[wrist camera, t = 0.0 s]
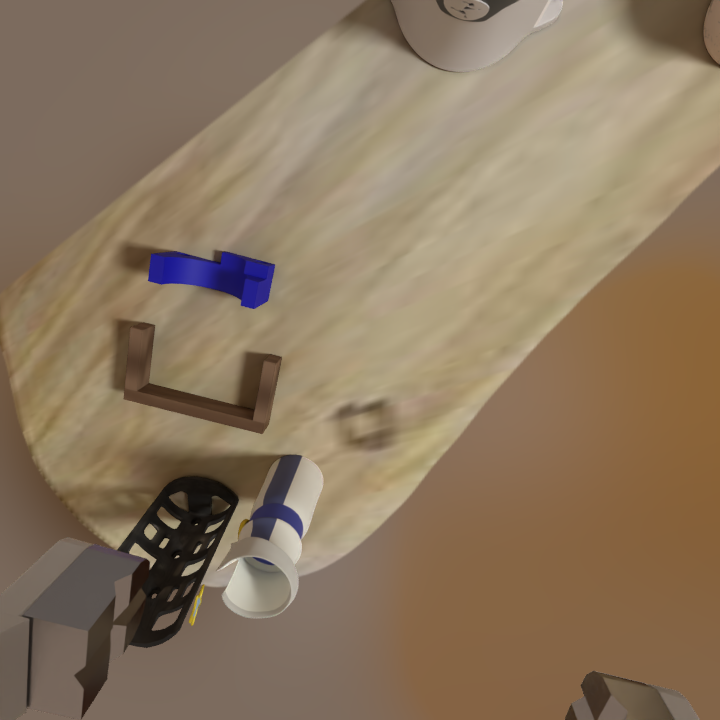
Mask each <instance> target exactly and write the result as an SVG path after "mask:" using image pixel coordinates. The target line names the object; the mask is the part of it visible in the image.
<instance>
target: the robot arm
mask: <svg viewBox="0 0 720 720" xmlns="http://www.w3.org/2000/svg"><path fill="white" fill-rule="evenodd" d="M391 2H392V4H393V6H394V9H395V12H396V16H397V19H398V23H399V25H400V28H401V30H402V33H403V35H404V36H405V38H406V40H407V42H408V43H409V44H410V46H411V47H412V48H413V50H414V51H415V52H416V53H417V54H418V55H419V56H420V57H422V58H423V59H424V60H426V61H427V62H428V63H430V64H432V65H434V66H436V67H438V68H441V69H444V70H448V71H454V72H469V71H475V70H479V69H482V68H485V67H487V66H490V65H492V64H494V63H495V62H497V61H499V60H500V59H502V58H503V57H505V56H506V55H507V54H508V53H509V52H511V51H512V50H513V49H514V48H515V47H516V46H517V45H518V44H519V43H520V42H521V41H522V40H523V39H524V38H525V37H526V36H528V35H529V34H531V33H534V32H536V31H539V30H541V29H543V28H545V27H547V26H549V25H551V24H552V23H553V22H554V21H555V20H556V19H557V18H558V16H559V14H560V12H561V9H562V4H563V0H391ZM149 568H150V561H149V560H147V559H146V558H142V557H139V556H135V555H132V554H128V553H124V552H121V551H117V550H114V549H110V548H107V547H103V546H100V545H96V544H90V543H86V542H83V541H79V540H76V539H72V538H69V537H67V538H65V539H63V540H60V541H58V542H57V543H56V544H55V545H53V546H52V547H51V548H50V549H49V550H48V551H47V552H46V553H45V554H44V555H43V556H42V557H40V558H39V559H38V560H37V561H36V562H35V563H34V564H33V565H32V566H31V567H30V568H29V569H27V570H26V571H25V572H24V573H23V574H22V575H21V576H20V577H19V578H18V579H17V580H16V581H15V582H14V583H12V584H11V585H10V586H9V587H8V588H7V589H6V590H5V591H4V592H3V593H2V594H0V720H16V719H17V718H18V717H20V716H22V715H23V714H24V713H26V708H27V709H32V710H37V711H41V712H46V713H50V714H55V715H60V716H64V717H69V718H73V719H78V720H81V719H82V718H83V716H84V714H85V713H86V711H87V710H88V708H89V707H90V705H91V704H92V702H93V701H94V699H95V698H96V696H97V694H98V693H99V691H100V690H101V688H102V687H103V685H104V683H105V682H106V680H107V676H108V668H109V663H110V662H111V661H113V660H114V659H116V658H118V657H120V656H121V655H123V654H124V652H125V650H126V649H127V647H128V646H129V644H130V642H131V641H132V639H133V637H134V635H135V633H136V630H137V628H138V626H139V624H140V622H141V618H142V615H143V611H144V608H145V602H146V595H145V593H144V592H143V590H142V588H141V587H142V586H143V584H144V583H145V581H146V580H147V578H148V577H149ZM581 688H582V691H583V694H584V697H583V698H581V699H579V700H577V701H575V702H573V703H572V704H571V706H570V708H569V710H568V713H567V715H566V717H565V720H700V719H699V718H698V716H697V714H696V713H695V711H694V710H693V708H692V706H691V705H690V703H689V702H688V700H687V699H686V698H685V697H684V696H683V695H681V693H679V692H678V691H675V690H671V689H666V688H663V687H659V686H654V685H649V684H645V683H642V682H638V681H633V680H629V679H625V678H621V677H616V676H612V675H609V674H604V673H600V672H596V671H592V672H590V673H589V674H587V675H586V676H585V678H584V680H583V682H582V684H581Z"/></svg>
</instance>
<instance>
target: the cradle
mask: <svg viewBox="0 0 720 720" xmlns="http://www.w3.org/2000/svg"><path fill="white" fill-rule="evenodd" d="M154 331H155V325H152V324H148V323H144V322H143V323H141V324H138V325H135V326H133V327H130V337H129V348H128V358H127V369H126V380H125V390H124V399H125V400H129V401H133V402H137V403H141V404H145V405H149V406H153V407H157V408H161V409H165V410H169V411H173V412H177V413H181V414H185V415H189V416H193V417H197V418H201V419H205V420H209V421H213V422H217V423H221V424H225V425H229V426H232V427H236V428H240V429H244V430H248V431H252V432H256V433H260V434H263V432H264V431H265V429H266V428H267V426H268V425H269V420H270V415H271V410H272V405H273V400H274V395H275V390H276V385H277V380H278V375H279V370H280V365H281V360H282V357H279V356H275V355H271V354H270V355H269V356H268V357H267V358H266V359H265V360H264V363H263V369H262V374H261V379H260V385H259V390H258V396H257V401H256V406H255V410H253V409H249V408H245V407H241V406H237V405H233V404H229V403H225V402H221V401H217V400H213V399H209V398H205V397H201V396H197V395H193V394H189V393H185V392H181V391H177V390H173V389H169V388H165V387H161V386H157V385H153V384H149V376H150V367H151V358H152V349H153V340H154Z"/></svg>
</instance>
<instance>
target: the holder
mask: <svg viewBox="0 0 720 720" xmlns="http://www.w3.org/2000/svg"><path fill="white" fill-rule="evenodd" d="M179 491H184V492H186V493H187V495H188V505H189V511H188V512H187V511H184V510H183V509H181V508H179V507H178V506H176V505H175V504H174V503H173V502H172V501H171V500H170V498H169V496H170V495H172V494H174V493H176V492H179ZM212 496H218V497H220V498H222V499H223V500H225V501H226V502H227V503H229V504H230V507H229V508H228V509H227V510H225V511H223V512H221V513H219V514H216V515H211V507H212ZM238 501H239V499H238V497H237V496H236V494H235V493H234V492H232V491H231V490H229V489H228V488H226V487H225V486H223V485H222V484H220V483H218V482H215V481H212V480H210V479H206V478H200V477H182V478H179V479H176V480H174V481H172V482H171V483H169V484H168V485H167V486H166V487H165V488H164V489H163V490H162V491H161V493H160V494H159V495H158V497H157V498H156V500H155V501H154V502H153V503H152V505H151V506H150V507H149V509H148V510H147V511H146V513H145V514H144V515H143V517H142V518H141V519H140V521H139V522H138V523H137V525H136V526H135V527H134V529H133V530H132V531H131V533H130V534H129V535H128V537H127V538H126V539H125V541H124V542H123V543H122V545H121V546H120V547H119V548H118V550H117V551H121V552H124V553H128V554H129V551H130V549H131V547H132V546H133V545H134V543H137V544H139V546H140V547H141V548H142V549H143V550H145V551H146V552H147V553H148V554H150V555H151V556H152V557H154V558H155V559H157V560H156V562H155V563H154V565H153V567H152V568H151V570H149V577H148V578H147V580H146V581H145V583H144V584H143V586H142V587H141V588H142V590H143V592H144V593H145V595H146V602H145V608H144V611H143V615H142V618H141V622H140V624H139V626H138V628H137V630H136V633H135V635H134V637H133V639H132V641H131V642H130V644H129V645H133V646H137V647H146V648H148V647H152V646H156V645H159V644H162V643H164V642H166V641H167V640H169V639H170V638H172V637H173V636H174V635H176V633H177V632H178V631H179V630H180V628H181V626H182V624H183V621H184V619H185V617H186V615H187V612H188V610H189V608H190V606H191V604H192V601H193V599H194V597H195V595H196V593H197V591H198V588H199V586H200V584H201V582H202V580H203V578H204V575H205V573H206V571H207V569H208V567H209V564H210V562H211V560H212V558H213V556H214V553H215V551H216V549H217V547H218V545H219V542H220V540H221V538H222V536H223V534H224V532H225V530H226V527H227V525H228V523H229V521H230V519H231V517H232V515H233V513H234V510H235V508H236V506H237V504H238ZM161 506H162V507H163V508H165V509H166V510H167V511H168V512H169V513H170V514H171V515H172V516H174V517H175V518H176V519H178V520H180V521H181V523H180V525H179V526H178V528H177V529H173V528H171V527H169V526H167V525H166V524H165V523H164V522H163V521H161V520H160V518H159V517H158V516H157V511H158V510H159V509H160V507H161ZM222 520H224V521H223V523H222V524H221V525H220V526H219V527H218V528H217V529H216V530H214V531H212V532H209V533H205V532H206V530H207V528H208V527H209V526H211V525H214V524H217V523H219V522H221V521H222ZM149 523H150V524H152V525H153V526H154V528H155V529H156V530H157V533H156V534H155V536H154V537H153V539H152V540H149V539H148V538H147V537H146V536H145V534H144V530H145V528H146V527H147V525H148V524H149ZM195 524H198V525H195ZM204 533H205V534H204ZM215 537H216V538H215ZM164 538H168V539H170V540H169V542H168V543H167V545H166V546H165V548H163V549H162V548H160V547H159V545H160V544H161V542H162V541H163V539H164ZM214 538H215V540H214V542H213V543H212V545H211V546H210V547H209V548H207V547H208V545H209V543H210V542H211V541H212V540H213V539H214ZM200 544H202V545H201V547H200V549H199V551H198V552H197V553H195V554H193V553H194V551H195V550H196V548H197V546H199V545H200ZM177 555H179V556H180V557H178V558H175V557H176V556H177ZM205 558H206V559H205ZM204 559H205V561H204V563H203V565H202V566H201V568H200V569H199V570H197V571H196V572H194V573H192V574H190V575H188V576H181V575H182V573H183V572H184V570H185V568H186V567H187V566H188V565H192V564H195V563H197V562H200V561H202V560H204ZM193 582H194V584H193V586H192V588H191V590H190V592H189V593H188V594H187V595H186V596H184V597H182V596H183V595H184V593H185V591H186V589H187V587H188V586H189V585H190V584H191V583H193ZM175 589H178V592H177V593H176V595H175V597H174V598H173V600H172V601H171V602H167V600H168V599H169V597H170V595H171V594H172V592H173V590H175ZM155 593H156V594H157V596H156V598H154V599H152V595H153V594H155ZM181 608H182V610H181V612H180V614H179V616H178V619H177V620H176V621H175V622H174V624H172V625H170V626H169V627H167V628H165V629H162V630H156V631H152V628H153V626H154V624H155V622H156V621H157V619H158V618H159V617H160V616H162V615H164V614H168V613H172V612H174V611H177V610H179V609H181Z"/></svg>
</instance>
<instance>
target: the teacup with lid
mask: <svg viewBox="0 0 720 720" xmlns="http://www.w3.org/2000/svg"><path fill="white" fill-rule="evenodd" d="M704 41H705V45H706V48H707V50H708V52H709V54H710V55H711V57H712V58H713V59H714V60H715V61H716V62H717V63H718V64H720V0H712V2H711V4H710V6H709V8H708V11H707V13H706V17H705V21H704Z"/></svg>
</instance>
